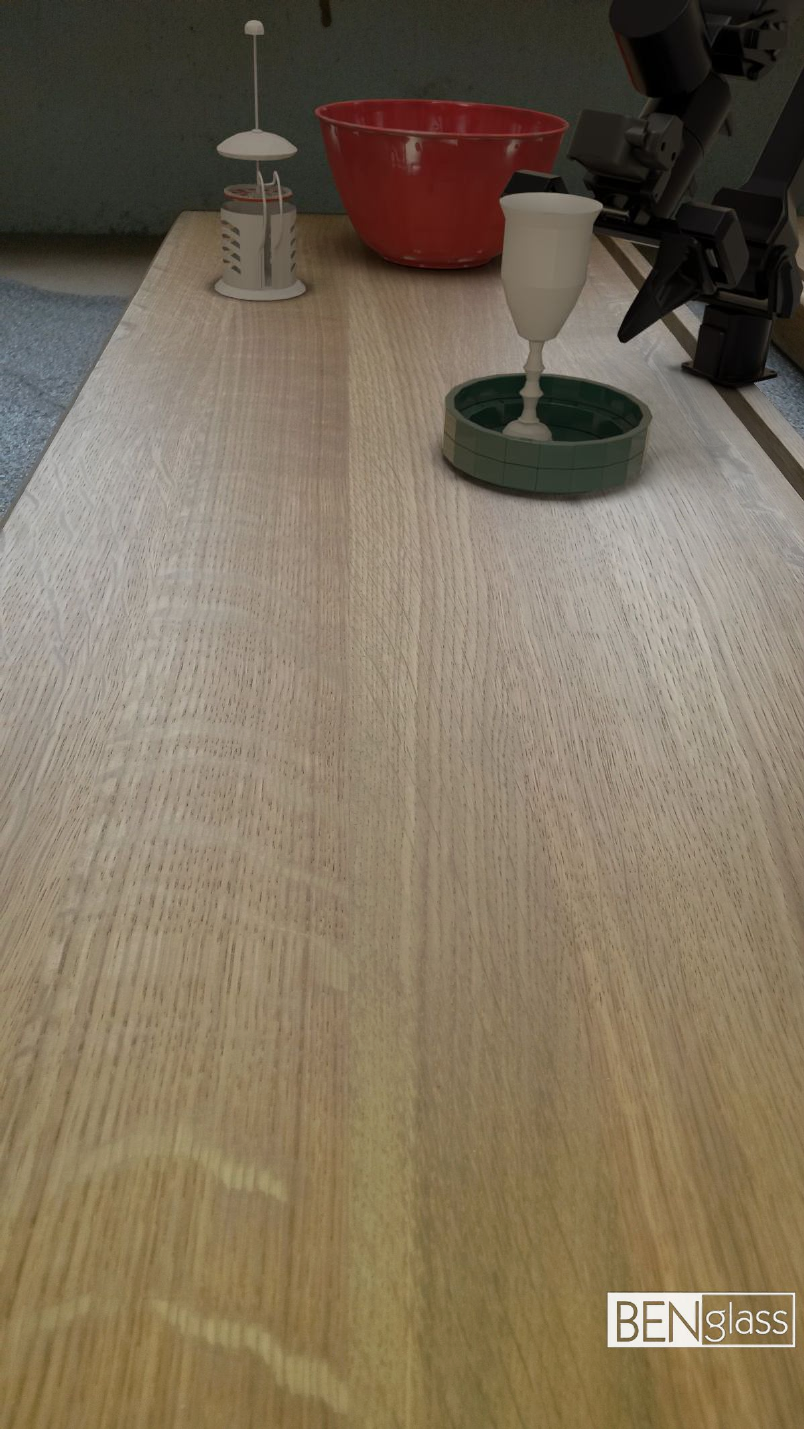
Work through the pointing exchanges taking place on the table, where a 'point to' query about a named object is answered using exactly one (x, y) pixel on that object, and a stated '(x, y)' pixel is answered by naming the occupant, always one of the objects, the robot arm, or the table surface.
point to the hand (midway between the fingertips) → (566, 325)
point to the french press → (259, 218)
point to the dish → (580, 416)
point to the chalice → (543, 279)
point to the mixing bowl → (433, 173)
